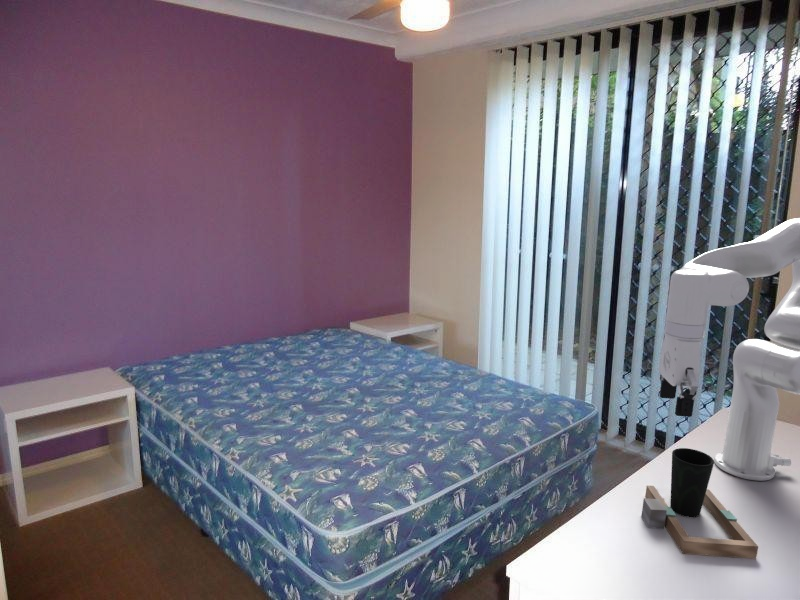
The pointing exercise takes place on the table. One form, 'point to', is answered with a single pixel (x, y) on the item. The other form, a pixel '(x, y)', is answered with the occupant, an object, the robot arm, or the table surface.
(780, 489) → the table surface
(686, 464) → the cup
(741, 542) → the beam slot
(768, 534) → the table surface
